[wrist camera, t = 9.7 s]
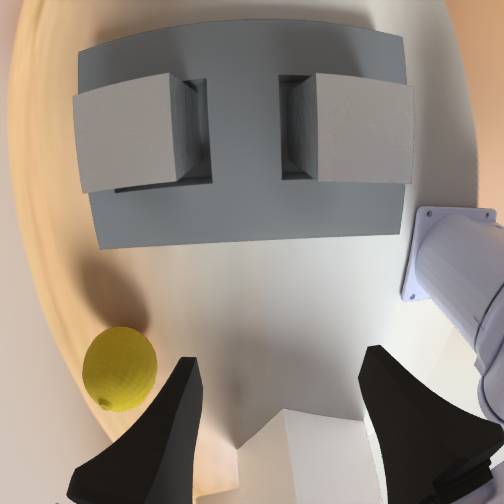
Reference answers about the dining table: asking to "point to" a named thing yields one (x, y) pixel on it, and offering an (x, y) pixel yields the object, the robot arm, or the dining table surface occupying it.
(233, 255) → the dining table surface
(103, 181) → the loose billet
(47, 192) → the dining table surface
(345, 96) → the block
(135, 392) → the lemon
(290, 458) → the milk
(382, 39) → the plate
